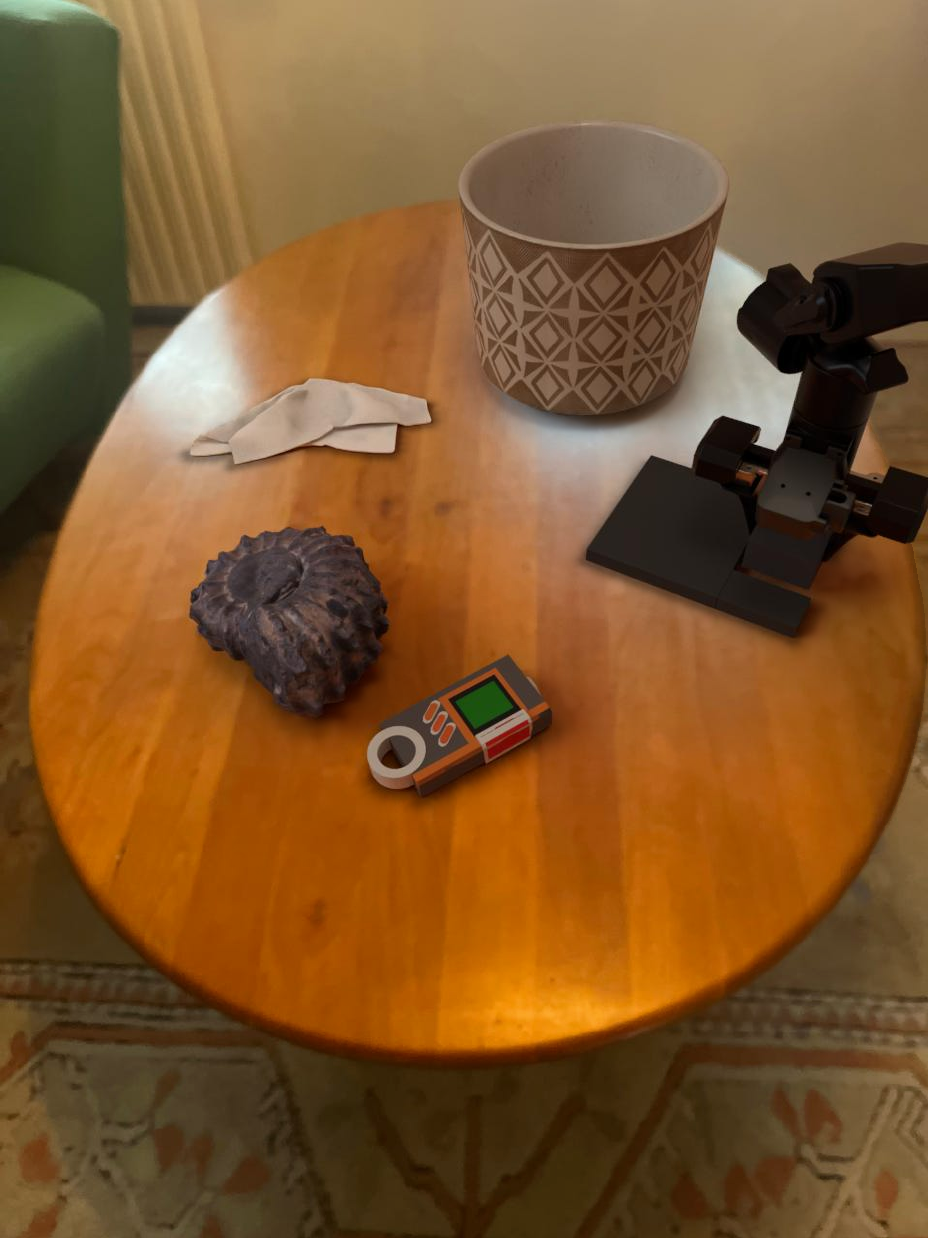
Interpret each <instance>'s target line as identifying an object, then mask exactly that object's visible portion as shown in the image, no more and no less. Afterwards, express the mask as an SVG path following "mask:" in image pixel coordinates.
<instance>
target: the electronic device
mask: <svg viewBox="0 0 928 1238" xmlns="http://www.w3.org/2000/svg"><path fill="white" fill-rule="evenodd" d="M378 724H379V726H380V730H381V731H379V732H378V733H377V734H375V736H373V738H372V739H371V740H370V742H369V744H368V746H367V749H366V758H367V762H368V765H369V769H370V772H371V775H372V777H373V778H374V779H375V780H376V783H379V784H380V785H381V786H382V787H385V788H388V789H393V790H402V789H403V790H404V789H407V788H409V787H411V786H414V788H415V789H416V791H417V793H418V794H419V796H420V797H421V798H424V797H426V796H428V795H429V794H432V793H433V792H436V790H438V789H440V788H442V787H444V786H445V785H448V784H449V783H451V782H452V781H454V780H456V779H457V778H459V777H461V776H463V775H465V774H467V773H468V772H470V771H472V770H473V769H476V768H477V767H479V766H481V765H483V764H484V763H485V765H487V764H488V763H491V762H492V761H495V760H496V759H497V758H499V757H501V756H503V755H505V754H506V753H508V752H510V751H512V750H514V749H515V748H517V747H518V746H520V745H522V744H524V743H525V742H527V741H528V740H530V739H531V737H532V736H534V735H536V734H537V733H539V732H541V731H542V730H543V731H544V729H546V728H548V727H550V726H552V725H553V711H552V709H551V707H550V705H549V704H548V703H547V701H546V700H545V699H544V698H543V696H542V694H541V692H540V690H539V688H538V686H537V684H536V683H535V682H534V681H533V680H532V678H531V677H529V676H526V675H525V674H524V673H523V671H522V670H521V669H520V667H519V666H518V665H517V663H516V662H515V661H514V660H513V658H512V657H511V656H510V654H506V655H504V656H502V657H500V658H498V659H496V660H495V661H493V662H491V663H488V664H487V665H485V666H484V667H482V668H480V669H478V670H475V671H474V672H473V673H471V674H469V675H467V676H465V677H463V678H461V679H459V680H457V681H456V682H454V683H452V684H450V685H448V686H446V687H444V688H442V689H441V690H439V691H437V692H435V693H433V694H431V695H429V696H428V697H426V698H424V699H421V700H420V701H418V702H417V703H415V704H413V705H410V706H409V707H406V708H405V709H403V710H401V711H400V712H397V713H396V714H394V715H391V716H390V717H389V718H387V719H384V720H383V721H381V722H379V723H378ZM389 751H392V753H393V754H394V757H396V759H397V761H398V763H399V764H400V766H401V767H400V768H391V767H387V766H385V765H383V763H382V760H383V759H384V756H385V755H386V754H387V753H388V752H389Z"/></svg>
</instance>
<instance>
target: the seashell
mask: <svg viewBox="0 0 928 1238" xmlns="http://www.w3.org/2000/svg"><path fill="white" fill-rule="evenodd" d="M364 555H365V554H364V550H363V548H362V547H360V546H356V543H355V541H354V537H353V536H351V535H349V534H347V535H346V534H335V535H334V534H333V535H331V534H330V533H329V532H327V529H326V527H324V525H321V526H317V527H307V528H305V529H298V528H293V527H291V526H286V527H285V528H282V529H281V530H280V531H270V530H264V531H263V532H260V533H259V534H258V535H257V536H255V537H254V536H249V535H247V534H243V535H242V536H241V537H240V540H239V543H238V544H237V545H236V546H235V548H234V549H232V550H230V551H229V550H228V551H220V552H218V553H217V559H208V560H207V562H206V564H205V565H206V568H205V571H204V572H203V573H204V576H205V577H204V578H203V580H202V581H201V582H199V583H198V585H197V587H195V588H193V589H192V590H191V591H190V598H189V601H190V605H189V613H188V617H189V619H190V620H192V621H194V622H195V623H196V624H197V626H196V629H195V632H196V633H197V634H198V635H200V636H202V637H203V638H204V639H205V640H206V643H207V645H208V646H209V647H210V648H211V650H212V652H225V653H226V654H227V655H228V656H229V657H230V658H231V659H232V660H234V661H246V665H247V666H250V667H251V668H252V670H253V675H252V677H253V678H254V679H256V680H257V681H258V682H259V683H260V684H261V685H262V686H263V687H264V688H265V689H266V690H267V691H268V692H270V693H271V694H272V696H273V703H275V705H277V706H278V707H279V708H281V709H283V710H285V711H288V712H291V713H292V714H294V715H296V716H297V717H301V718H317V717H320V716H321V715H323V714H324V705H328V704H330V703H333V704H334V703H335V704H338V703H340V702H341V701H343V700H345V699H346V694H345V691H346V686H351V685H352V686H353V685H354V686H355V685H358V683H359V681H360V679H361V677H362V676H363V674H364V673H365V669H368V668H370V667H371V666H372V665H373V664H374V663H376V662H377V660H378V659H379V657H380V652H381V651H382V650H383V644H382V643H381V642H380V641H379V640H381V639H382V636H383V635H386V634H387V632H388V631H389V630H390V628H389V626H390V619H389V618H388V617H387V616H386V615H385V614H386V613H387V610H388V605H389V604H390V601H389V600H388V598H386V597H385V596H384V593H383V592H382V591H381V590H382V588H381V584H382V583H381V581H380V580H379V578H378V577H376V575H374V573H373V572H372V571H371V570H370V565H369V563H367V562H366V560H365V556H364Z"/></svg>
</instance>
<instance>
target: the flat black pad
mask: <svg viewBox="0 0 928 1238" xmlns="http://www.w3.org/2000/svg"><path fill="white" fill-rule="evenodd" d="M749 537H750V534H749V530H748V526H747V521H746V517H745V513H744V509H743V506H742V503H741V501H740V499H739V496H738V495H737V494H734V493H732V492H730V491H727V490H724V489H723V488H722V487H721V484H720V483H717V482H714V481H711V480H708V479H705V478H702V477H699V476H696V475H695V474H694V473H693V471H692V467H689V466H687V465H683V464H680V463H676V462H674V461H671V460H668V459H665V458H662V457H659V456H655V455H650V456H649V457H648V458H647V460H646V462H645V463H644V465H643V466H642V468H641V469H640V471H639V472H638V473H637V475H636V476H635V478H634V479H633V481H632V482H631V484H630V485H629V486H628V488H627V490H626V491H625V492H624V494H623V495H622V497H621V498H620V500H619V501H618V502H617V504H616V505H615V507H614V508H613V510H612V511H611V513H610V514H609V516H608V517H607V518H606V520H605V521H604V523H603V525H602V526H601V527H600V529H599V530H598V531H597V533H596V534H595V536H594V538H592V541H591V542H590V544H589V545H588V546H587V548H586V553H585V560H586V561H588V562H591V563H593V564H597V565H599V566H602V567H604V568H607V569H608V570H609V569H610V570H612V571H615V572H617V573H620V574H622V575H626V576H628V577H631V578H633V579H636V580H639V581H641V582H644V583H647V584H648V585H651V586H654V587H657V588H660V589H662V590H664V591H668V592H670V593H673V594H676V595H678V596H682V597H683V598H686V599H689V600H692V601H694V602H696V603H700V604H701V605H704V606H708V607H710V608H712V609H716V610H718V611H720V612H723V613H726V614H729V615H731V616H733V617H736V618H739V619H741V620H745V621H747V622H750V623H753V624H755V625H757V626H760V627H762V628H766V629H768V630H771V631H773V632H777V633H778V634H782V635H784V636H787V637H789V638H792V639H794V638H795V637H796V635H797V632H798V630H799V629H800V626H801V624H802V621H803V619H804V618H805V615H806V613H807V611H808V609H809V606H810V604H811V601H812V597H811V596H808V595H805V594H802V593H801V592H800V593H799V592H797V591H794V590H791V589H788V588H787V587H783V586H780V585H777V584H775V583H771V582H769V581H766V580H764V579H761V578H759V577H758V578H757V577H755V576H753V575H750V574H747V573H744V572H742V571H738V570H737V569H738V567H739V565H740V563H741V561H743V558H744V554H745V551H746V547H747V543H748V539H749Z"/></svg>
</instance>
